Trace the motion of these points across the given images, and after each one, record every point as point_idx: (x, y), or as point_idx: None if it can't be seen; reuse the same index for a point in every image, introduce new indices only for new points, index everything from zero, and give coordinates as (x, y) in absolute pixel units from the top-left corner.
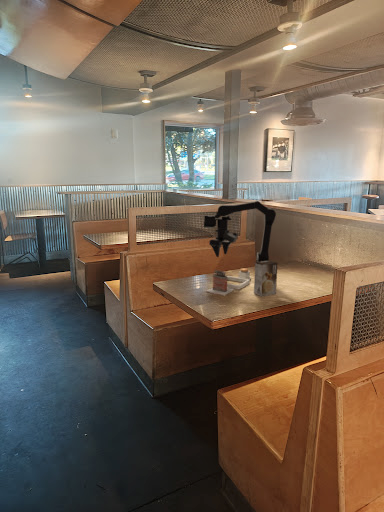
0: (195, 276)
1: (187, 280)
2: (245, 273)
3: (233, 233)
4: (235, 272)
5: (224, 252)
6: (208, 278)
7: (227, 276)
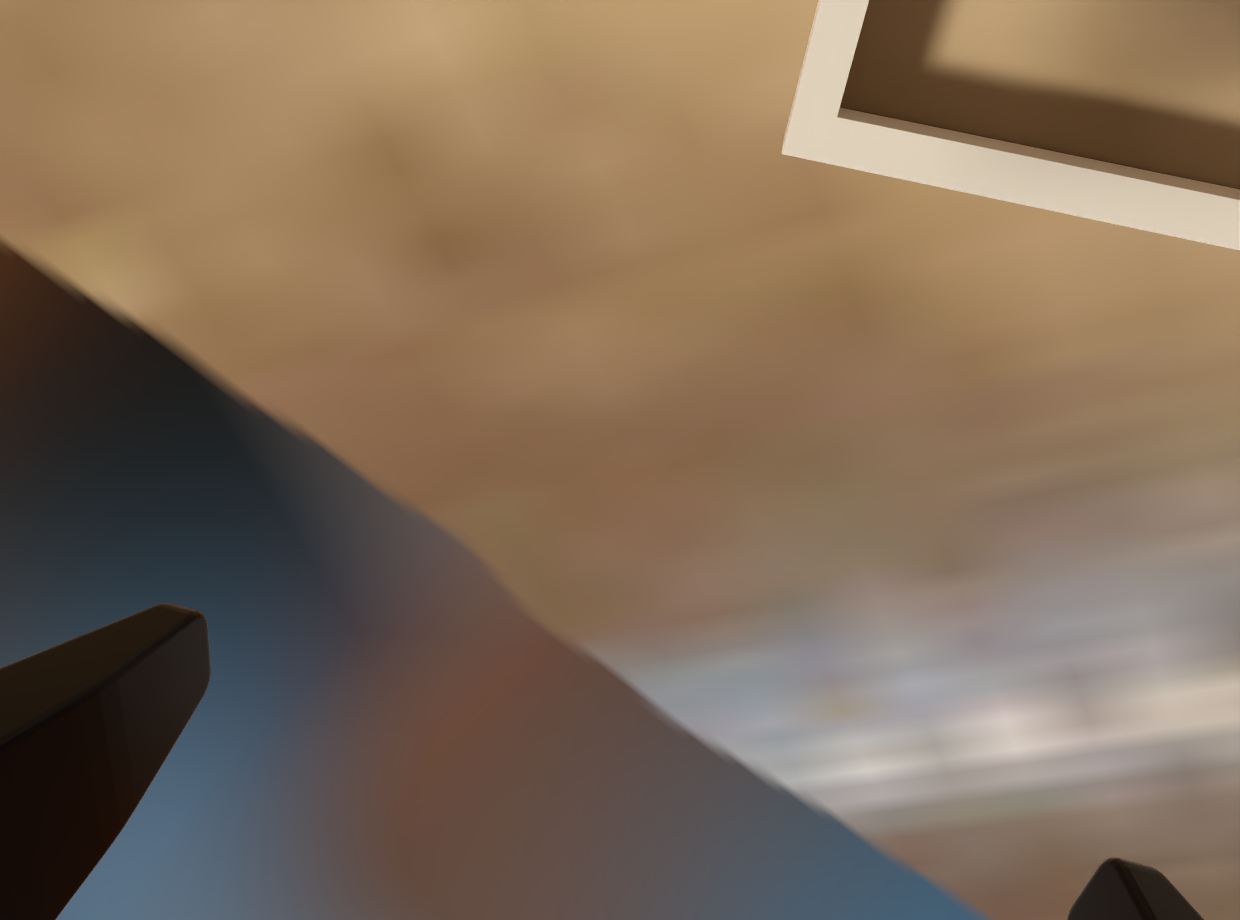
0: (808, 793)
1: None
2: None
3: None
4: (87, 118)
5: (151, 750)
6: (867, 566)
7: (857, 131)
